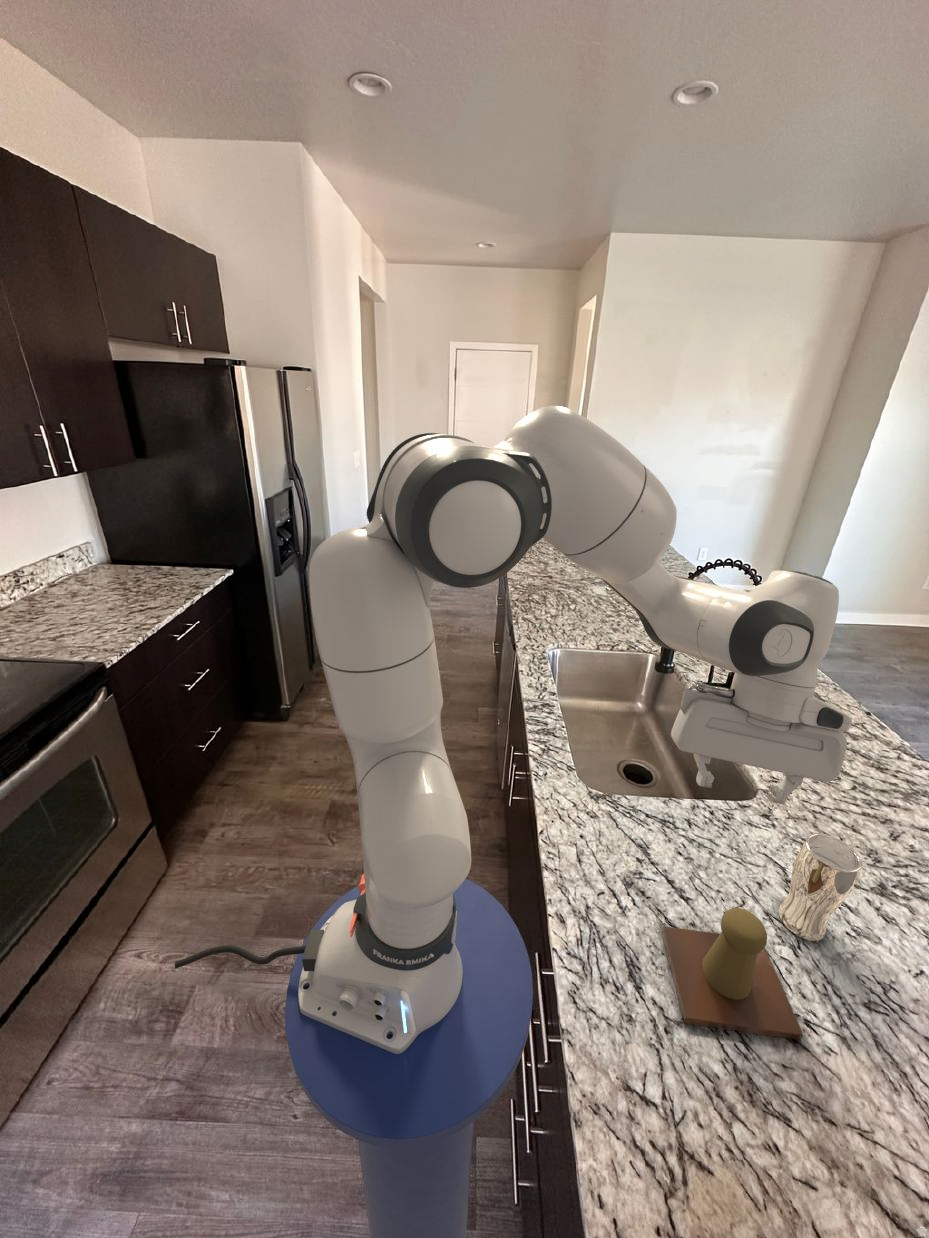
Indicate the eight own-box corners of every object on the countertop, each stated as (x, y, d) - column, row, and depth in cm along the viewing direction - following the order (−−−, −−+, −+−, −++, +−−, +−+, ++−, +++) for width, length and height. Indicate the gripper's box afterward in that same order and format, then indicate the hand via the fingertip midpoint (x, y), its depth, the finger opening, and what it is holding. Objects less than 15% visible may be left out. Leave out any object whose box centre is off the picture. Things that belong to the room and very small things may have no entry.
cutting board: (684, 1023, 62) (686, 1017, 62) (660, 931, 73) (662, 925, 73) (800, 1040, 61) (803, 1034, 60) (758, 943, 72) (761, 938, 71)
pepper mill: (701, 945, 70) (719, 892, 66) (748, 962, 68) (770, 910, 63) (702, 987, 65) (722, 933, 60) (753, 1008, 63) (778, 953, 58)
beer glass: (764, 907, 77) (792, 837, 71) (797, 895, 79) (827, 827, 73) (804, 950, 71) (839, 878, 65) (839, 936, 73) (876, 865, 67)
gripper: (694, 687, 61) (666, 787, 64) (867, 722, 59) (831, 824, 61) (679, 673, 67) (654, 765, 70) (835, 705, 65) (804, 798, 68)
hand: (738, 793), depth 66 cm, fingers open, 8 cm apart
